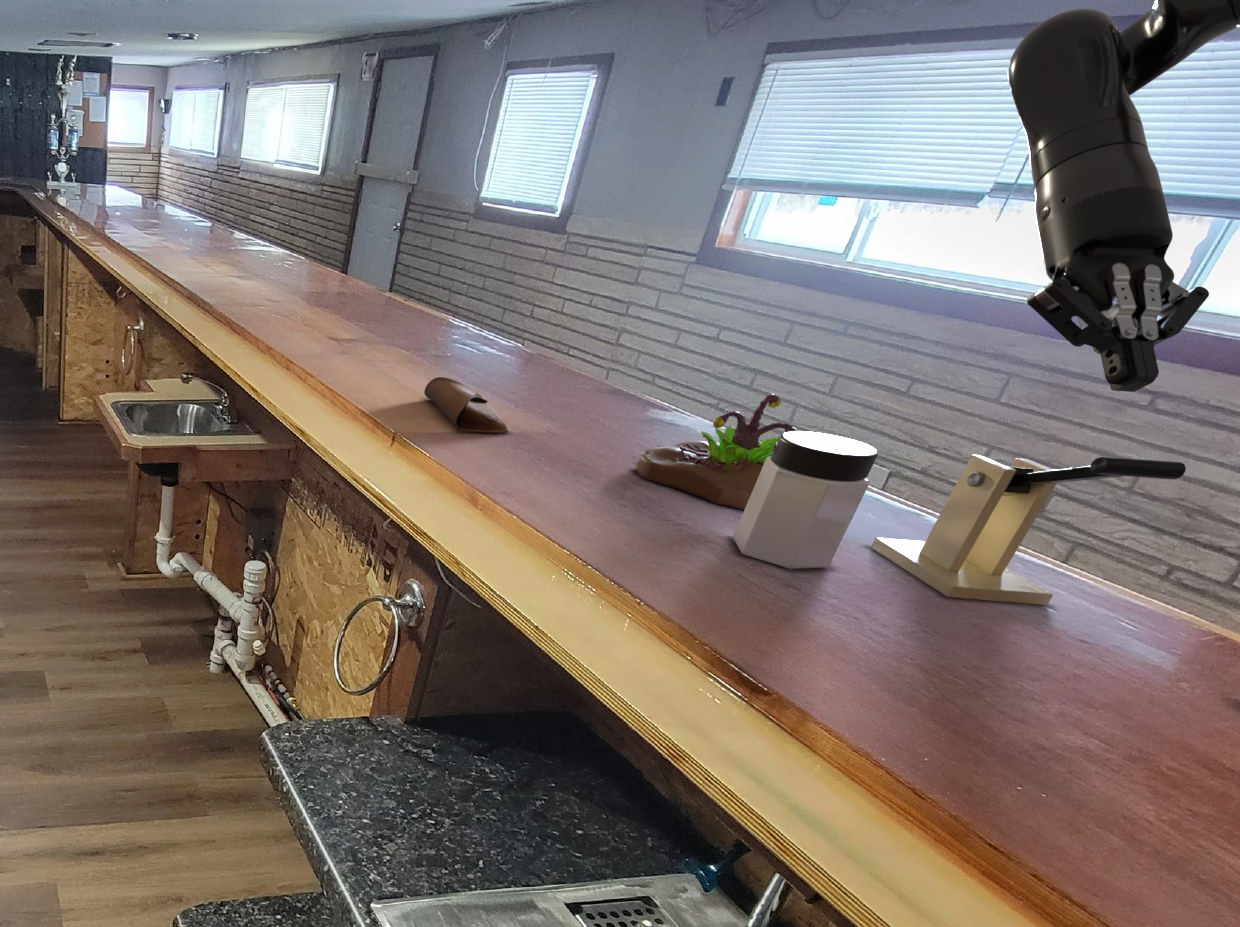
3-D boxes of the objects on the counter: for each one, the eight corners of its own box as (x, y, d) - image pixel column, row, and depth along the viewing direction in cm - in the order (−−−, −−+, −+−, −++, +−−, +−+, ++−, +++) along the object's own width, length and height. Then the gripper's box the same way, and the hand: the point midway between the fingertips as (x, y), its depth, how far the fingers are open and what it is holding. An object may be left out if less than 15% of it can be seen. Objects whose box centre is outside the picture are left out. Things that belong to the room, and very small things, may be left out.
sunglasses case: (514, 431, 129) (500, 389, 126) (466, 453, 130) (451, 413, 128) (474, 398, 144) (461, 361, 141) (432, 418, 146) (418, 382, 143)
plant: (860, 500, 110) (904, 410, 104) (764, 522, 102) (806, 426, 97) (705, 452, 125) (736, 371, 120) (611, 467, 118) (640, 381, 112)
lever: (1183, 484, 74) (1189, 455, 73) (1104, 478, 74) (1110, 449, 74) (1023, 497, 88) (1028, 473, 87) (958, 492, 88) (962, 468, 88)
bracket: (1047, 605, 86) (1121, 489, 80) (947, 597, 87) (1013, 481, 81) (958, 554, 96) (1018, 448, 90) (870, 547, 97) (924, 441, 91)
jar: (783, 536, 99) (832, 430, 93) (847, 568, 92) (904, 455, 86) (712, 538, 97) (756, 430, 91) (771, 571, 90) (824, 456, 84)
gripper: (1059, 179, 77) (1094, 356, 72) (1228, 187, 76) (1274, 367, 71) (982, 240, 84) (1009, 404, 80) (1135, 248, 83) (1171, 414, 78)
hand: (1134, 386), depth 75 cm, fingers closed
